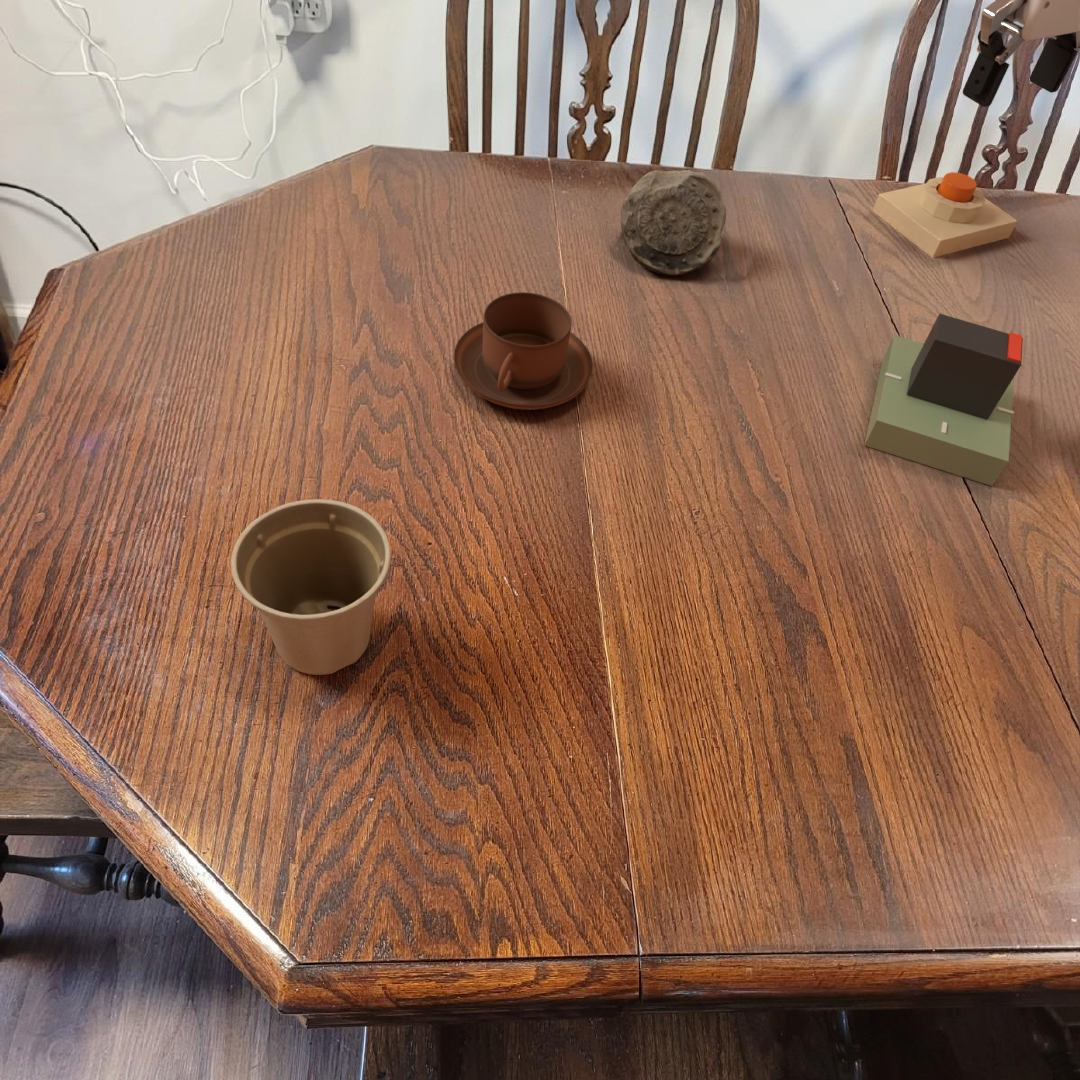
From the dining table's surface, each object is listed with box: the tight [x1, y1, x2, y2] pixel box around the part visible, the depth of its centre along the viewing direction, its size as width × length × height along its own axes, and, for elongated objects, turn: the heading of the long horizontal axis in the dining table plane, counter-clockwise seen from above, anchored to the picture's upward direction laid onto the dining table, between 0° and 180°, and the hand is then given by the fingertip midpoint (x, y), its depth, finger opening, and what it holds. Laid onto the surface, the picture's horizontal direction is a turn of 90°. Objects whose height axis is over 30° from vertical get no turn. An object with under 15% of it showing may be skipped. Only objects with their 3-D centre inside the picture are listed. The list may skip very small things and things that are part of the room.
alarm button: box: [938, 171, 978, 203], centre depth 104 cm, size 4×4×2 cm
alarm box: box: [871, 176, 1018, 259], centre depth 106 cm, size 12×10×4 cm
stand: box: [863, 334, 1015, 487], centre depth 83 cm, size 13×11×3 cm
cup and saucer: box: [453, 291, 593, 411], centre depth 80 cm, size 12×12×6 cm
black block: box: [907, 313, 1024, 419], centre depth 80 cm, size 7×4×6 cm, turn 69°
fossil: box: [620, 169, 727, 277], centre depth 96 cm, size 11×9×10 cm
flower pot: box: [230, 498, 392, 676], centre depth 60 cm, size 9×9×9 cm
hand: (1009, 93), depth 92 cm, fingers open, 9 cm apart
